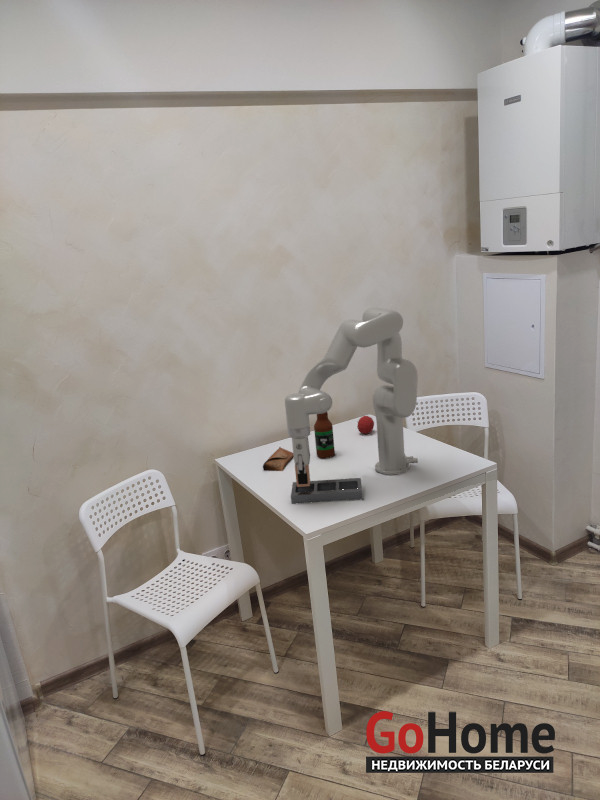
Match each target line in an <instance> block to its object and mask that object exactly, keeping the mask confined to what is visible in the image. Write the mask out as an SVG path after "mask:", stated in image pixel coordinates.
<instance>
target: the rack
mask: <svg viewBox="0 0 600 800" xmlns="http://www.w3.org/2000/svg"><path fill="white" fill-rule="evenodd" d="M357 488H358V489H357ZM342 489H344V490H342ZM360 499H362V500H363V499H364V498H363V486H362V477H353V478H351V477H350V478H349V477H348V478H337V479H334V478H333V479H323V480H321V479H320V480H310V486H303V487H297V483H296V481H293V482H292V485H291V492H290V500H291V501H290V502H291V504H292V505H293V504H294V505H296V503H298V504H309V503H311V502H312V503H313V504H314V503H328V502H342V501H343V502H346V501H358V500H360ZM312 503H311V504H312Z"/></svg>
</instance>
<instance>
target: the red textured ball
mask: <svg viewBox="0 0 600 800" xmlns="http://www.w3.org/2000/svg"><path fill="white" fill-rule="evenodd" d="M374 426H375V422H374V419H373V418H372V417H370V416H369V415H362V416H361V417H360V418H359V419H358V421H357V430H358V432H359V433H361V434H362V435H363V434H365V435H368V434H370V433H371V432H372V431H373V429H374Z"/></svg>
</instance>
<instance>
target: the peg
mask: <svg viewBox="0 0 600 800" xmlns="http://www.w3.org/2000/svg"><path fill="white" fill-rule="evenodd" d="M298 464H299V463H298ZM302 464H304V463H302ZM303 468H304V466H303ZM294 470H295V482H296V483H297V487H303V486H310V481H311V474H310V464H309V465H306V472H307V479H308V484H298V475H297V473H298V469H297V466H296V465H295V464H294Z"/></svg>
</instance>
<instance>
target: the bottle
mask: <svg viewBox="0 0 600 800" xmlns="http://www.w3.org/2000/svg"><path fill="white" fill-rule="evenodd" d="M328 413H329V412H328V411H327V412H325V413H322V414H316V420H315V423H314V425H313V429H314V431H313V432H314V439H315V441H314V442H315V452H316V456H317V457H318V458H319V459H324V460H325V459H330V457H331V458H332V457H334V456H335V454H336V451H335V442H334V441H335V440H334V438H335V437H334V429H333V428H334V427H333V426H334V425H333V423H332V422H331V420H330V419H329V414H328Z"/></svg>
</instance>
